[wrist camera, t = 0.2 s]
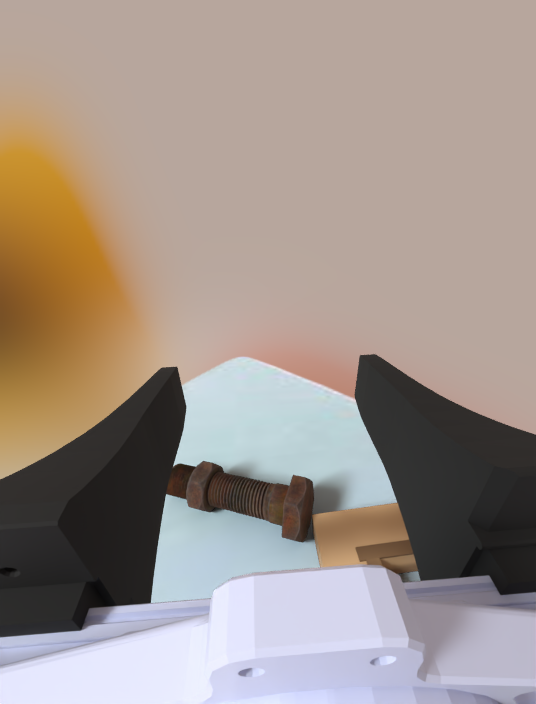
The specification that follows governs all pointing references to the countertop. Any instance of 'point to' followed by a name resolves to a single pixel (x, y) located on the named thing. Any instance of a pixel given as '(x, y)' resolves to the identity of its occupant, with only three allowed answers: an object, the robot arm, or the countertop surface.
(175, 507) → the countertop surface
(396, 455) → the robot arm
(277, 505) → the bolt
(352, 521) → the board
